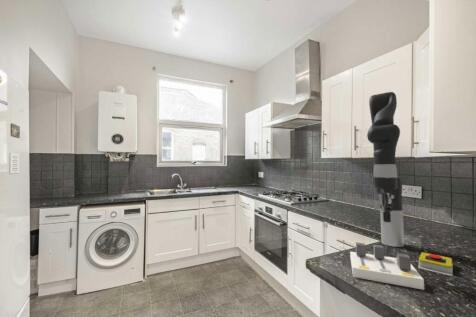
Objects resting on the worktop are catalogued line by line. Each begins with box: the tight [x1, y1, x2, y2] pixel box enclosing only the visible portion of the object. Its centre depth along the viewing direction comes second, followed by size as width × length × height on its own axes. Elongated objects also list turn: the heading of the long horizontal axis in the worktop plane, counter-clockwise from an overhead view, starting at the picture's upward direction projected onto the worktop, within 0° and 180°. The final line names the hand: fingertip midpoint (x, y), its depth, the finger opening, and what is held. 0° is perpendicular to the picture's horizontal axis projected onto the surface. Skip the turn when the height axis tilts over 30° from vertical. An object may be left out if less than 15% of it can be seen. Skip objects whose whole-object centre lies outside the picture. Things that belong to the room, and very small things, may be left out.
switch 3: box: [396, 253, 412, 270], centre depth 73 cm, size 3×3×4 cm
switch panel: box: [349, 251, 425, 291], centre depth 77 cm, size 17×19×3 cm
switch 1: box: [355, 242, 367, 256], centre depth 84 cm, size 3×3×4 cm
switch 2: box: [372, 244, 385, 259], centre depth 82 cm, size 3×3×4 cm
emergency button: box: [417, 251, 454, 277], centre depth 83 cm, size 9×4×15 cm
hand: (386, 221), depth 83 cm, fingers closed
